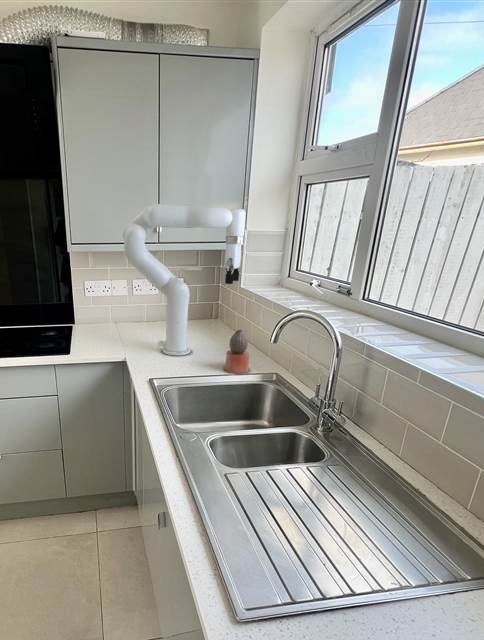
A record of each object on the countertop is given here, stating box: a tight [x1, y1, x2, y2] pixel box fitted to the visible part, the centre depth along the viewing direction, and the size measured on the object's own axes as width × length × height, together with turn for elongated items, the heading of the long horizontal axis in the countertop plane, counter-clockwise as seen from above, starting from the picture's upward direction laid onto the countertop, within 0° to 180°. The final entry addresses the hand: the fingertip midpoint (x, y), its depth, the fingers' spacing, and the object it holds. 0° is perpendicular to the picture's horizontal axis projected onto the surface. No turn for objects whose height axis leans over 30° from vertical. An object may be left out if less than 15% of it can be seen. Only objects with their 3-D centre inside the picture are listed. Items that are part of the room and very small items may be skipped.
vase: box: [229, 329, 249, 354], centre depth 158 cm, size 7×7×9 cm
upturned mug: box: [224, 349, 250, 375], centre depth 162 cm, size 12×9×7 cm
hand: (232, 282), depth 177 cm, fingers open, 9 cm apart
